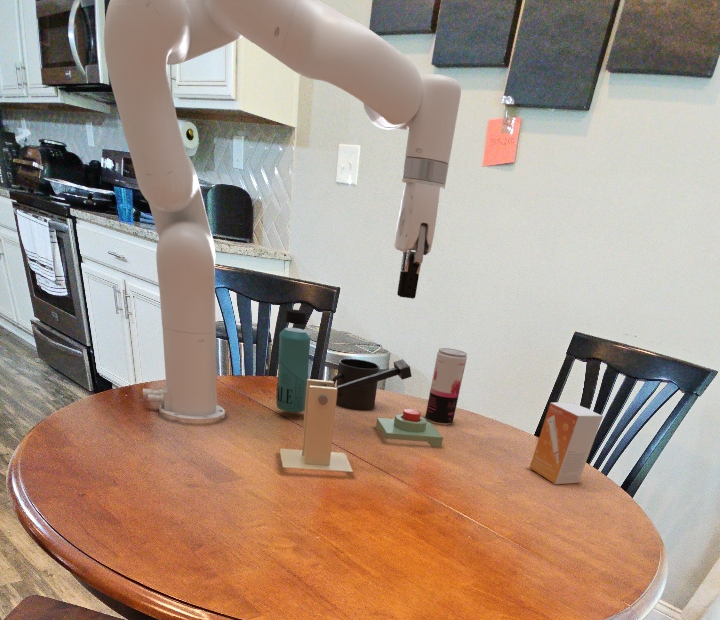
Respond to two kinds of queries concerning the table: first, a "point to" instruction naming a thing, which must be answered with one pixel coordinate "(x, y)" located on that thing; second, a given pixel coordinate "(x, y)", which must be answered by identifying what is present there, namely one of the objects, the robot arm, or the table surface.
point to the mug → (360, 396)
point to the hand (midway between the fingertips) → (406, 296)
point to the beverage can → (445, 386)
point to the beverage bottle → (293, 364)
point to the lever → (377, 377)
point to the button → (411, 415)
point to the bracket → (317, 432)
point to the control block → (409, 430)
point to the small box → (565, 442)
